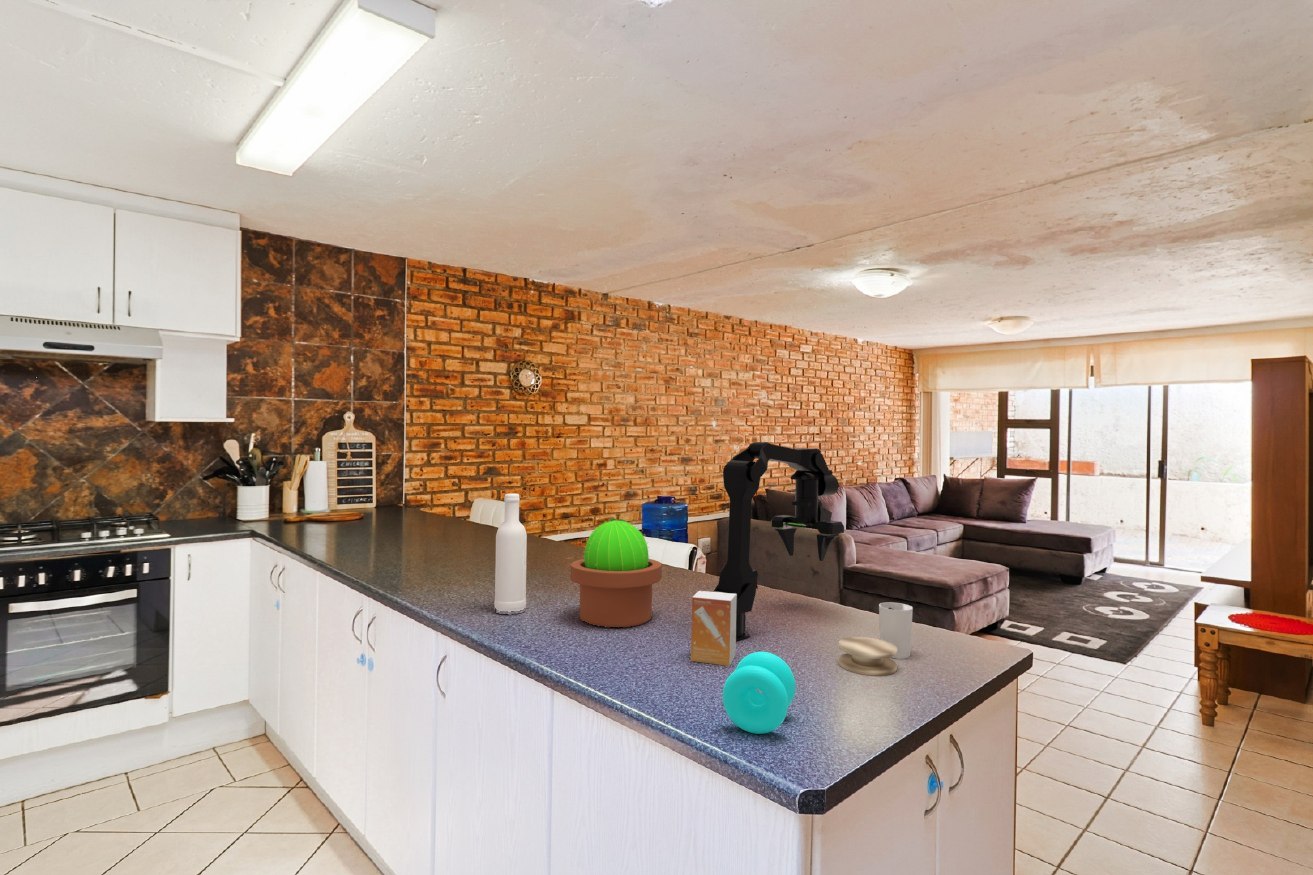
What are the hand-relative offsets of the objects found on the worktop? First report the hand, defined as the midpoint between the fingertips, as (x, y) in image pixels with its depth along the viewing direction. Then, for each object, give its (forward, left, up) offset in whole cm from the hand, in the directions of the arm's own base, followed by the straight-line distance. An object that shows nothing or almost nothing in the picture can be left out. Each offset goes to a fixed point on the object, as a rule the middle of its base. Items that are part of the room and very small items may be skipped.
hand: (806, 558), depth 164 cm
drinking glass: (-10, -30, -15) cm, 35 cm away
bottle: (-56, +50, -15) cm, 77 cm away
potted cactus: (-39, +28, -15) cm, 51 cm away
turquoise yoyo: (-58, -33, -15) cm, 69 cm away
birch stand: (-21, -30, -15) cm, 40 cm away
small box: (-42, -8, -15) cm, 46 cm away
